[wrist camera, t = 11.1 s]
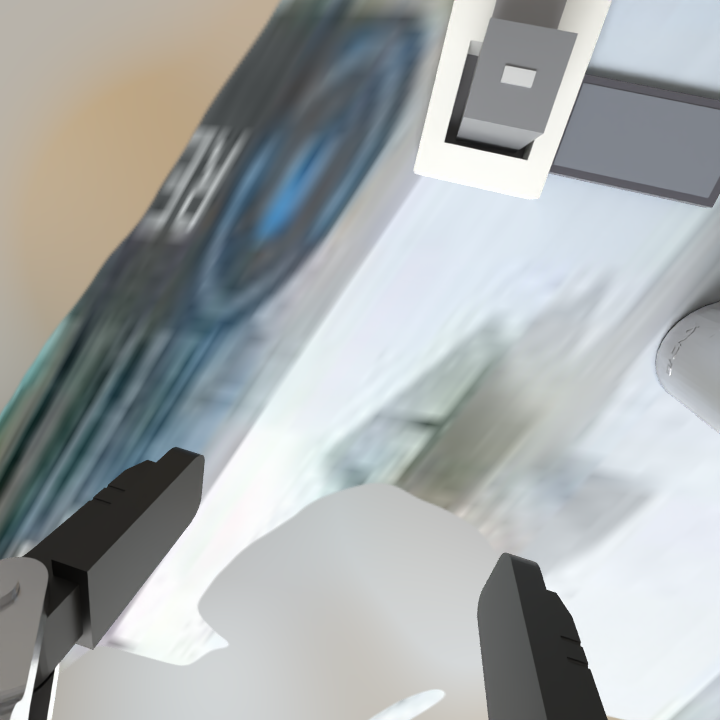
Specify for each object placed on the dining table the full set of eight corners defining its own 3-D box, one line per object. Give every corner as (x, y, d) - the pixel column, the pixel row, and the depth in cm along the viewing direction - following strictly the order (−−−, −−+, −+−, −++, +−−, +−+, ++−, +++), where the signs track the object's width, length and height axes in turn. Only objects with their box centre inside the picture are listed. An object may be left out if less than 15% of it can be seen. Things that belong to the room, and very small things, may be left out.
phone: (755, 112, 26) (765, 109, 25) (704, 207, 28) (713, 207, 27) (573, 76, 26) (577, 72, 26) (539, 171, 29) (542, 170, 28)
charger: (537, 82, 26) (579, 32, 19) (514, 153, 28) (544, 133, 21) (474, 69, 27) (490, 16, 19) (455, 140, 29) (463, 116, 21)
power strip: (645, -126, 23) (684, -188, 19) (529, 199, 30) (542, 198, 26) (493, -150, 23) (504, -213, 20) (415, 173, 30) (412, 169, 27)
